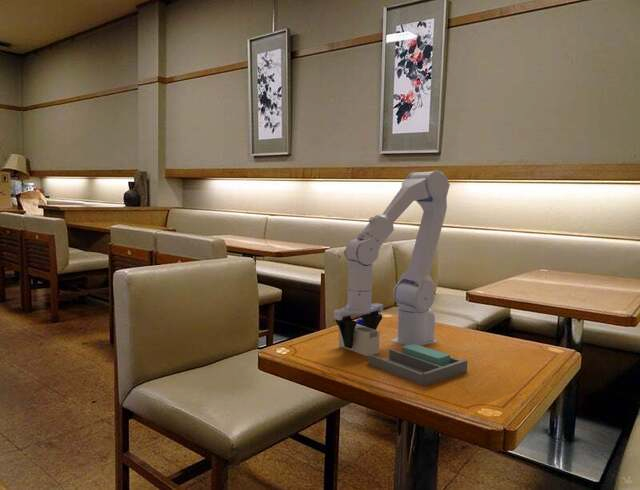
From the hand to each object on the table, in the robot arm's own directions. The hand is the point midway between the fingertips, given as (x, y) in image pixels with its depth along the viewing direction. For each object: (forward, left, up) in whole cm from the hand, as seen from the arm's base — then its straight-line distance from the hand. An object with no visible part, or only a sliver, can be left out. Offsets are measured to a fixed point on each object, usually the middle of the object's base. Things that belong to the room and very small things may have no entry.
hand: (358, 344), depth 116 cm
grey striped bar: (0, 0, -2) cm, 2 cm away
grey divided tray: (-2, +17, -2) cm, 17 cm away
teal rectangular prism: (-5, +17, -1) cm, 17 cm away
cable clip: (-11, -9, -2) cm, 14 cm away
